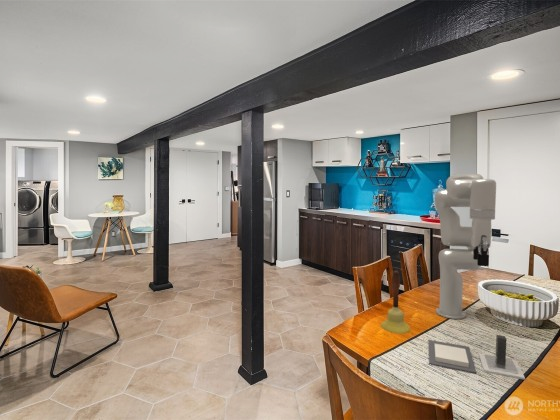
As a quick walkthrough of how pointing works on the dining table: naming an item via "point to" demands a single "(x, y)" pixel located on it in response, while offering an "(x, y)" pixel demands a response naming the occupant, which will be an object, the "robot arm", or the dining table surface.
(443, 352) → the tile
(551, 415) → the dining table surface
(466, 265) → the robot arm
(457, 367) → the tile mat
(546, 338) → the dining table surface
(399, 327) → the handbell
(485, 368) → the pad
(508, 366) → the post on square base
